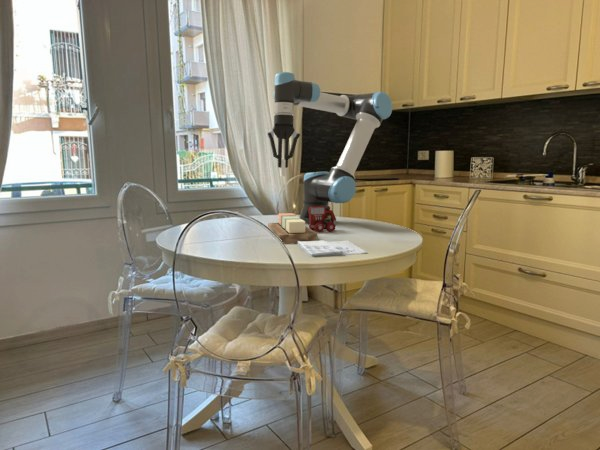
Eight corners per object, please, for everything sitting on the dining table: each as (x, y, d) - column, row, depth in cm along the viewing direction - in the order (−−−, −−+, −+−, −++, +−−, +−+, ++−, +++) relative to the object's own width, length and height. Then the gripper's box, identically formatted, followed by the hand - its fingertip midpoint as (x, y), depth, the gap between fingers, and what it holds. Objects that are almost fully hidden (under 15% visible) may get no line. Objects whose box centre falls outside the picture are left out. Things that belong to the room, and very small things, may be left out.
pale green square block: (296, 226, 172) (297, 216, 172) (300, 228, 167) (300, 218, 166) (282, 226, 171) (282, 216, 170) (285, 229, 165) (285, 218, 165)
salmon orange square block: (292, 222, 180) (292, 213, 179) (295, 225, 174) (295, 215, 174) (278, 223, 179) (278, 213, 178) (281, 225, 173) (281, 215, 172)
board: (300, 229, 183) (300, 221, 183) (317, 241, 158) (317, 233, 158) (268, 230, 180) (268, 222, 180) (279, 243, 155) (279, 234, 155)
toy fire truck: (339, 231, 180) (340, 206, 178) (312, 233, 175) (312, 207, 173) (331, 228, 186) (332, 204, 184) (305, 230, 181) (305, 205, 179)
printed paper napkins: (296, 245, 154) (296, 239, 154) (350, 243, 159) (350, 238, 159) (310, 258, 136) (310, 252, 136) (370, 256, 141) (370, 249, 140)
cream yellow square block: (301, 229, 165) (301, 219, 164) (305, 232, 159) (305, 221, 158) (286, 230, 163) (286, 219, 163) (289, 233, 158) (289, 222, 157)
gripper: (268, 113, 162) (267, 176, 166) (302, 114, 165) (300, 176, 169) (265, 114, 170) (265, 175, 173) (298, 116, 172) (296, 175, 176)
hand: (282, 176), depth 171 cm, fingers closed
